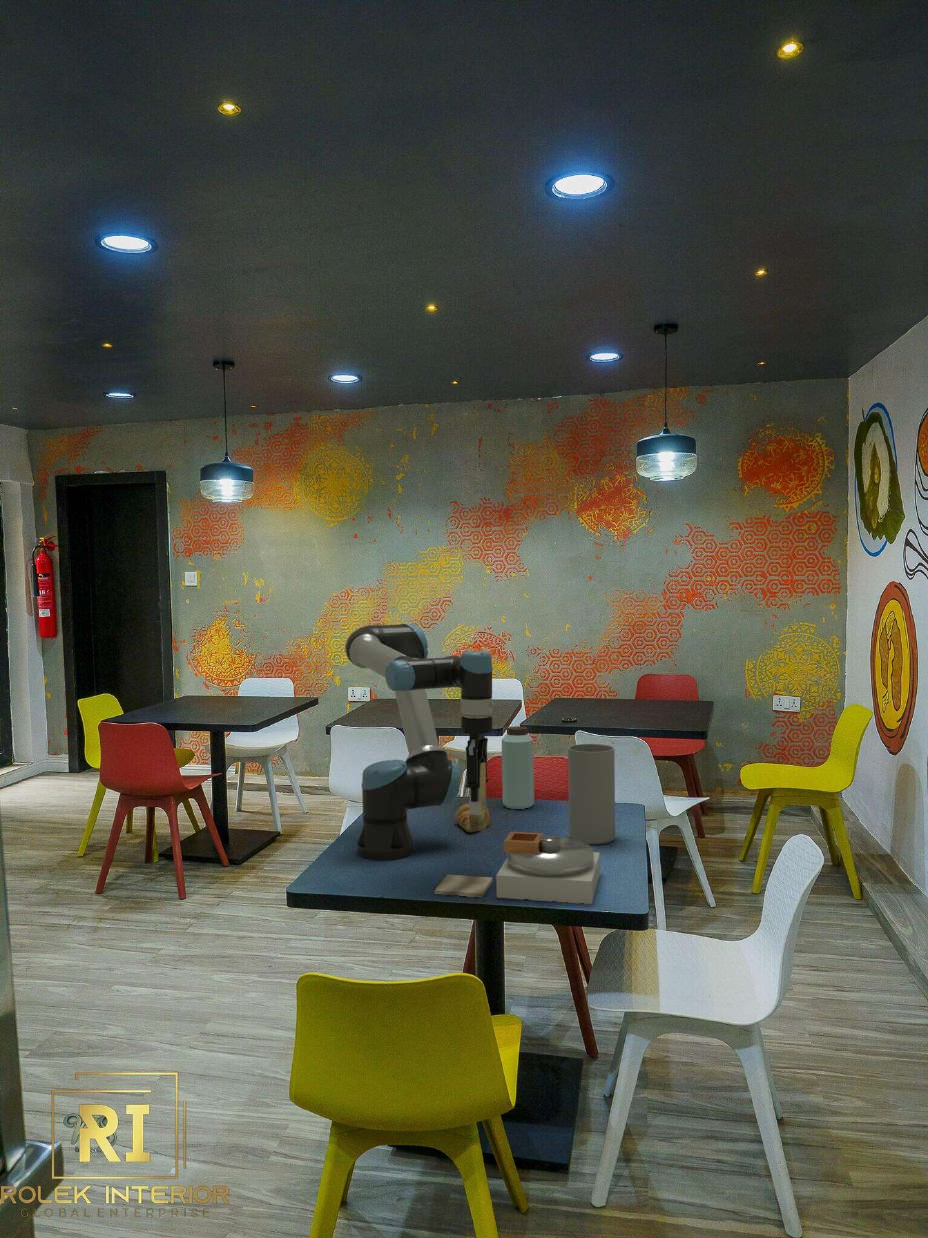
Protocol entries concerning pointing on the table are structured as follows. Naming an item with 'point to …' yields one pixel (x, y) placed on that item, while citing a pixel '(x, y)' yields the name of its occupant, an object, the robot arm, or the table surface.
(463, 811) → the croissant
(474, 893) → the birch pad
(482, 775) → the brass capsule
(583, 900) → the beige square block
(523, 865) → the silver metal disc
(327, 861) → the table surface
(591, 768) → the cylinder vase
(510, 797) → the water bottle
